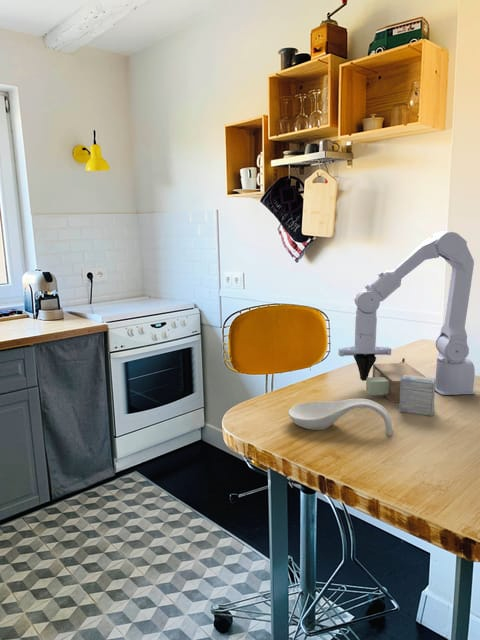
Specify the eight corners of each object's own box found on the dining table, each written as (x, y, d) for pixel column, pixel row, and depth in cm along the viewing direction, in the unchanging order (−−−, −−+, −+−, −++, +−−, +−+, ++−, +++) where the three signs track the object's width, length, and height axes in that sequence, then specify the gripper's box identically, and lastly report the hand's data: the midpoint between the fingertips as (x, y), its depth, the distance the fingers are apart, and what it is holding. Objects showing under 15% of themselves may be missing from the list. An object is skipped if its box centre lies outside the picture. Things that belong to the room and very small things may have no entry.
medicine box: (433, 410, 124) (436, 377, 122) (432, 417, 120) (434, 382, 119) (401, 406, 127) (402, 373, 126) (398, 412, 123) (400, 378, 122)
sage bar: (398, 389, 136) (398, 376, 136) (403, 393, 133) (403, 380, 132) (365, 390, 136) (366, 377, 135) (370, 394, 132) (370, 381, 132)
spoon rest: (284, 433, 113) (284, 403, 111) (292, 414, 124) (292, 386, 122) (392, 444, 106) (393, 412, 105) (391, 423, 117) (392, 394, 116)
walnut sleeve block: (405, 381, 146) (406, 363, 145) (428, 400, 131) (430, 379, 130) (372, 382, 146) (373, 363, 145) (391, 402, 130) (392, 381, 129)
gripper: (386, 329, 142) (383, 374, 145) (336, 330, 142) (334, 376, 144) (395, 334, 135) (392, 382, 138) (342, 336, 135) (341, 383, 137)
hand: (363, 379), depth 141 cm, fingers closed
